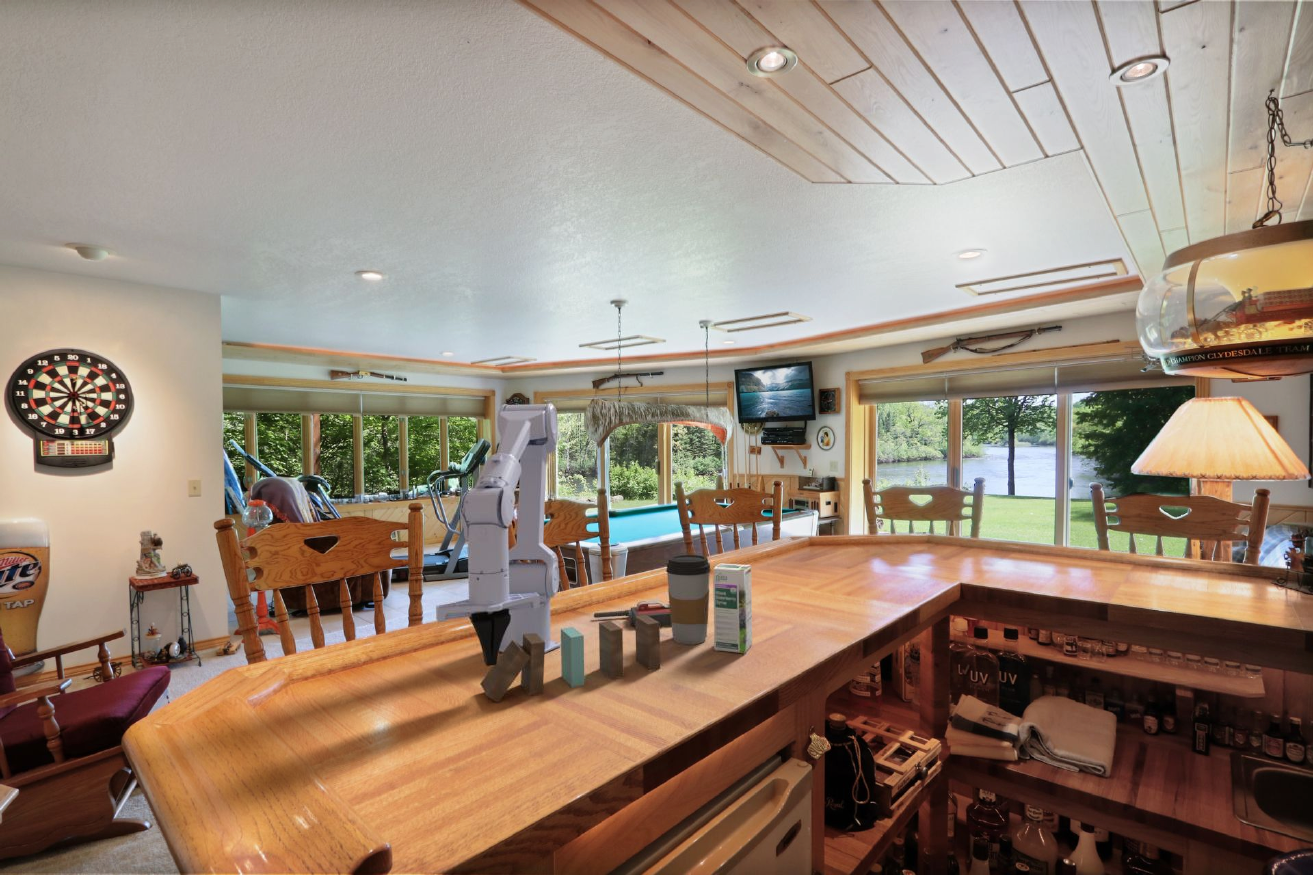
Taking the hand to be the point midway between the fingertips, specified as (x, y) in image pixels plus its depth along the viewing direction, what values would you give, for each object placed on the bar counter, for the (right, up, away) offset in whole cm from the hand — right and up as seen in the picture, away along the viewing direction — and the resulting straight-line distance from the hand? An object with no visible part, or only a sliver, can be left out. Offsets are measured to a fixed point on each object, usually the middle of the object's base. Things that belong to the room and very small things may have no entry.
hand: (490, 663), depth 88 cm
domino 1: (0, -4, 0) cm, 4 cm away
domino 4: (+17, -5, +9) cm, 20 cm away
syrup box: (+38, -5, +19) cm, 43 cm away
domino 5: (+23, -5, +12) cm, 26 cm away
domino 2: (+5, -5, +3) cm, 8 cm away
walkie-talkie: (+22, -5, +36) cm, 42 cm away
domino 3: (+11, -5, +6) cm, 13 cm away
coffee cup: (+30, -5, +24) cm, 39 cm away
